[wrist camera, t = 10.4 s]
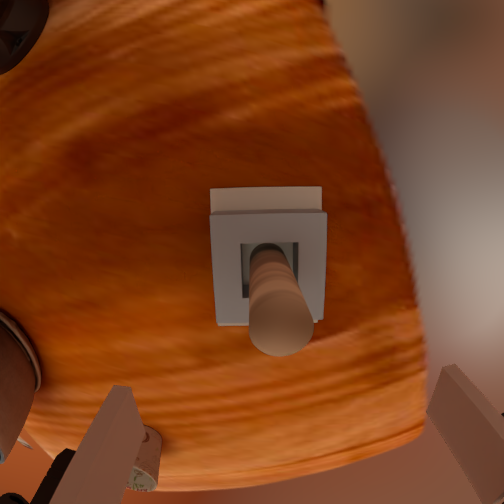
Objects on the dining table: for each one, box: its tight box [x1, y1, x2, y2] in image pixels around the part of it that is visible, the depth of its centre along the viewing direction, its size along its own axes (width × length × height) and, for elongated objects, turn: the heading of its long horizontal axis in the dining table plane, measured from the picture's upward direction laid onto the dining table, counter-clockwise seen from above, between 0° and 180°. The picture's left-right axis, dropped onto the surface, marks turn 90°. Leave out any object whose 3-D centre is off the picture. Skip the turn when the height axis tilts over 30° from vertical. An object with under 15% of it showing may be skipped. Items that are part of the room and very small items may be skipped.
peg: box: [249, 243, 314, 356], centre depth 26 cm, size 4×4×16 cm
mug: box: [126, 425, 162, 492], centre depth 38 cm, size 8×13×10 cm, turn 173°
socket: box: [210, 186, 327, 326], centre depth 32 cm, size 16×12×5 cm
